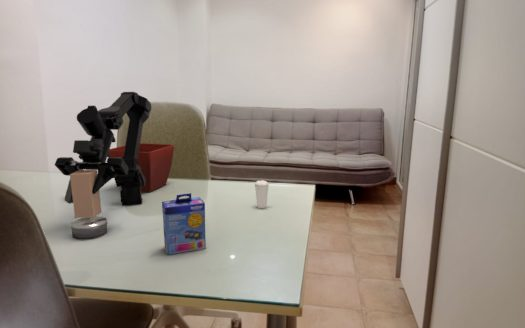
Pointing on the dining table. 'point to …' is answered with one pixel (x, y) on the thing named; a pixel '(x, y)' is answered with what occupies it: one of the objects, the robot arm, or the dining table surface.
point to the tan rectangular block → (85, 194)
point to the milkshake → (261, 193)
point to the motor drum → (89, 228)
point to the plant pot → (151, 163)
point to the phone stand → (69, 193)
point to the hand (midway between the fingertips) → (83, 193)
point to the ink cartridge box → (184, 224)
